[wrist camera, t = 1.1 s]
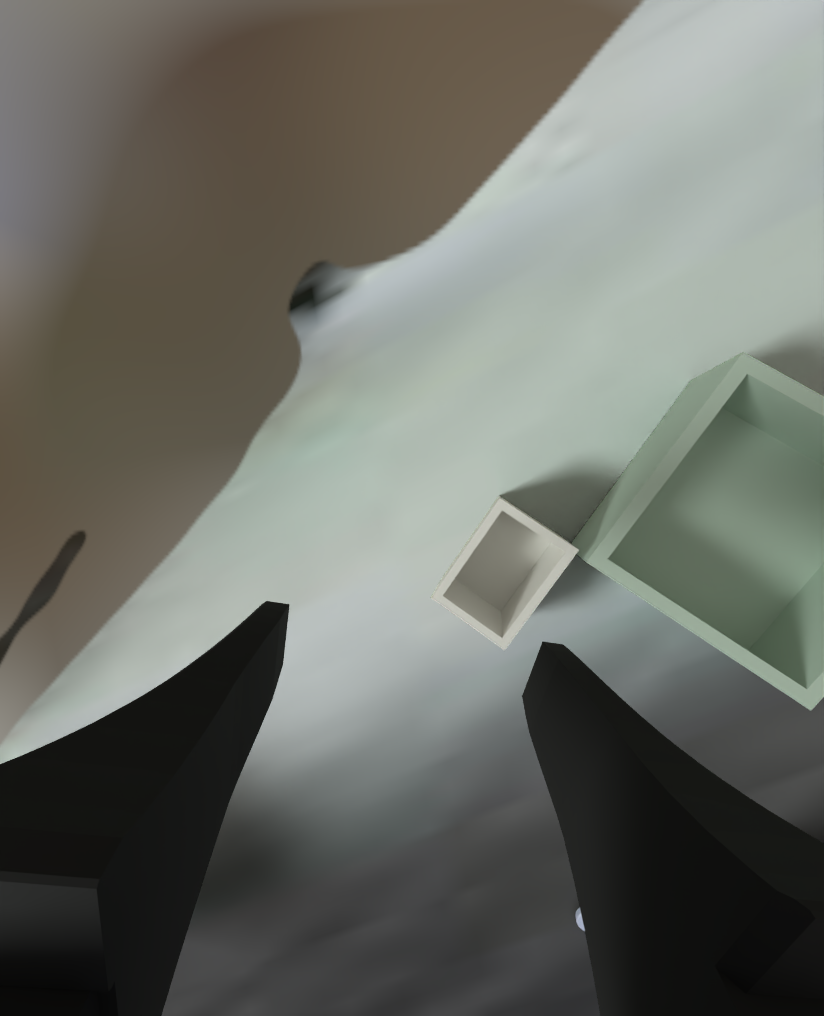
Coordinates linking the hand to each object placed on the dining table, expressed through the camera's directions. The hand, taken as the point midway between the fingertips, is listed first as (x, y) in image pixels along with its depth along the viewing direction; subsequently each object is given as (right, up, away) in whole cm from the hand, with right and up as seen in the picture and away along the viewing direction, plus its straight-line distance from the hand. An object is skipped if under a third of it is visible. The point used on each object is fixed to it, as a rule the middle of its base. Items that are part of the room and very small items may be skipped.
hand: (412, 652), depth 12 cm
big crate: (+15, +3, +9) cm, 18 cm away
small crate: (+5, +1, +11) cm, 12 cm away
